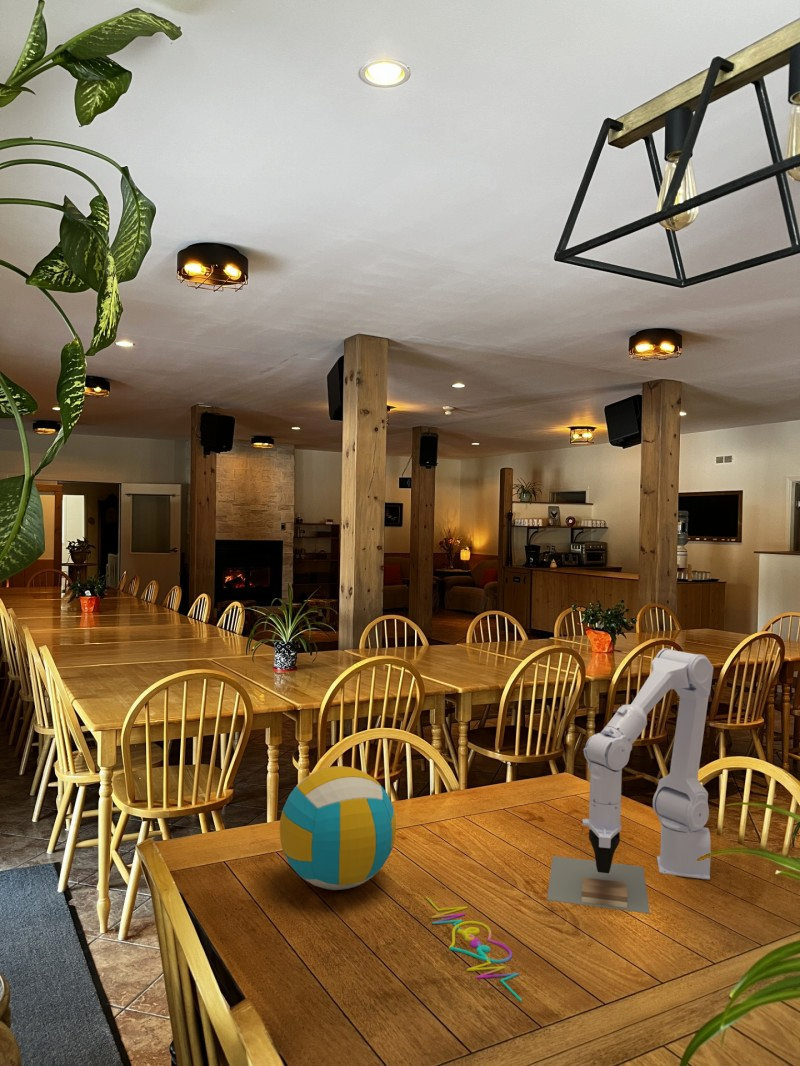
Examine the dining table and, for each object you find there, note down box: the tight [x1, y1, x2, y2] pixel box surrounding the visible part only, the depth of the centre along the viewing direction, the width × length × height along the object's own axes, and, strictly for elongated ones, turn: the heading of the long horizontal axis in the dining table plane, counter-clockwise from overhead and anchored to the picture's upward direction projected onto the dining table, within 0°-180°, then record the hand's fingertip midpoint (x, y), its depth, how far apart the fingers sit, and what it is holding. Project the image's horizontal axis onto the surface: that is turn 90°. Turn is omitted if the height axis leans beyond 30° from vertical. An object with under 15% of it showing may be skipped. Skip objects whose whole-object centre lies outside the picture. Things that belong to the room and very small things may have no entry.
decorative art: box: [425, 896, 523, 1003], centre depth 132 cm, size 34×1×10 cm
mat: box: [546, 855, 650, 915], centre depth 154 cm, size 18×20×1 cm
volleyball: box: [279, 765, 397, 891], centre depth 152 cm, size 22×22×22 cm
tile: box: [582, 877, 627, 908], centre depth 148 cm, size 8×2×6 cm
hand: (603, 871), depth 151 cm, fingers closed
